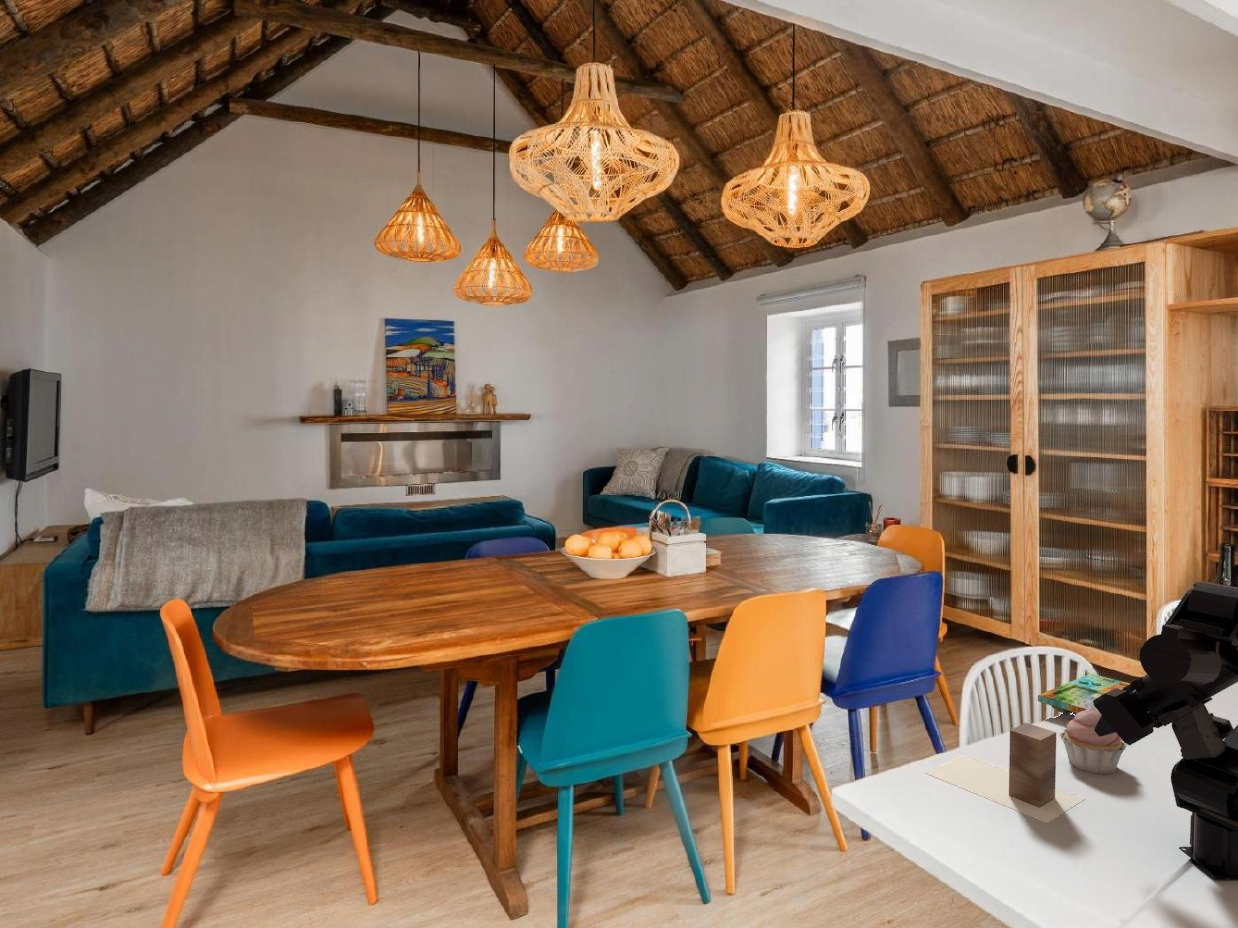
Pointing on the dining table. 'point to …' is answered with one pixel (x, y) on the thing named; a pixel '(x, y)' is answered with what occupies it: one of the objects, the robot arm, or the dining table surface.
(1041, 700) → the puzzle game
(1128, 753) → the dining table surface
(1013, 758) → the walnut block
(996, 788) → the beige mat
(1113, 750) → the cupcake
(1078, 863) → the dining table surface
